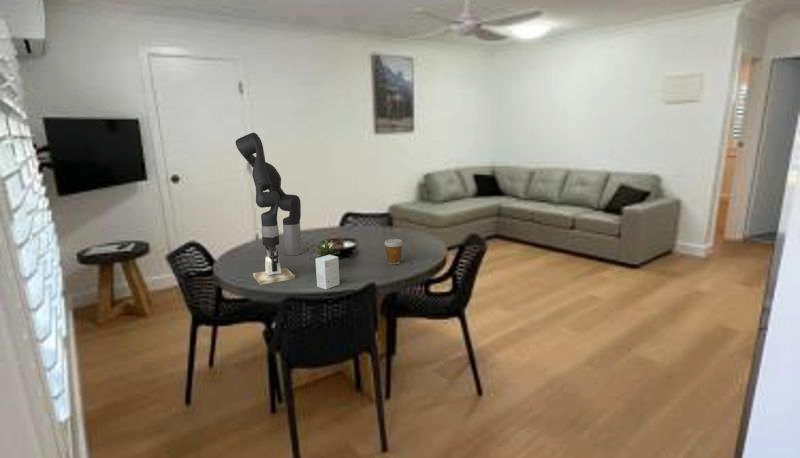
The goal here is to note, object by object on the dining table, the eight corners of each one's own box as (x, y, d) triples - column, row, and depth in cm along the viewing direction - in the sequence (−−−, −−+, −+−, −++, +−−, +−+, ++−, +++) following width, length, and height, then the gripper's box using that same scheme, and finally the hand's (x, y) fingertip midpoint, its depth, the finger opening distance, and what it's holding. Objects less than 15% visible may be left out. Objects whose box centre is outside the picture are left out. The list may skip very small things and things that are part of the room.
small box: (330, 281, 203) (329, 254, 200) (340, 284, 199) (338, 256, 196) (316, 286, 197) (315, 258, 194) (326, 289, 193) (324, 261, 190)
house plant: (327, 279, 207) (326, 245, 203) (305, 274, 214) (303, 241, 210) (347, 270, 218) (345, 238, 215) (325, 266, 226) (324, 235, 222)
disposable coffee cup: (406, 261, 232) (405, 239, 229) (398, 267, 223) (398, 243, 221) (389, 259, 236) (389, 237, 233) (381, 264, 227) (380, 242, 225)
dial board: (286, 270, 219) (285, 256, 218) (295, 278, 208) (294, 263, 206) (253, 276, 212) (252, 261, 210) (260, 284, 200) (258, 268, 198)
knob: (265, 271, 210) (263, 255, 208) (277, 269, 213) (276, 254, 211) (268, 275, 205) (267, 258, 203) (281, 273, 208) (280, 257, 206)
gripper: (258, 232, 209) (261, 266, 213) (265, 238, 197) (268, 275, 201) (274, 230, 213) (277, 264, 217) (282, 236, 201) (285, 272, 204)
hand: (273, 269), depth 209 cm, fingers closed on knob, 6 cm apart
